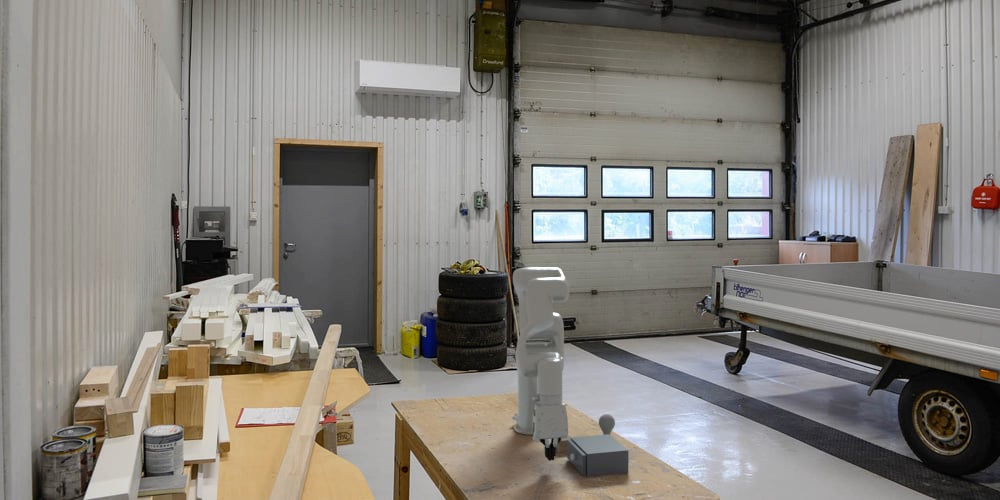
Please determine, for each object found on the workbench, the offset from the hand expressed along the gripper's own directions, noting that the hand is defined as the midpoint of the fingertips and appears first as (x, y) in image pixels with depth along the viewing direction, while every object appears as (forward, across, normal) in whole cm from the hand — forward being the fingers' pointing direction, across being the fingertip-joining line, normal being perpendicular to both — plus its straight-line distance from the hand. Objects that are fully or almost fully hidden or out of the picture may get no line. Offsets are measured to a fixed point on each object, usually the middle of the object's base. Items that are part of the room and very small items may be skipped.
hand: (550, 458), depth 194 cm
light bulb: (+4, +26, +18) cm, 32 cm away
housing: (+4, +16, 0) cm, 16 cm away
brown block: (+4, +10, +16) cm, 19 cm away
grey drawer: (+3, +14, 0) cm, 14 cm away
